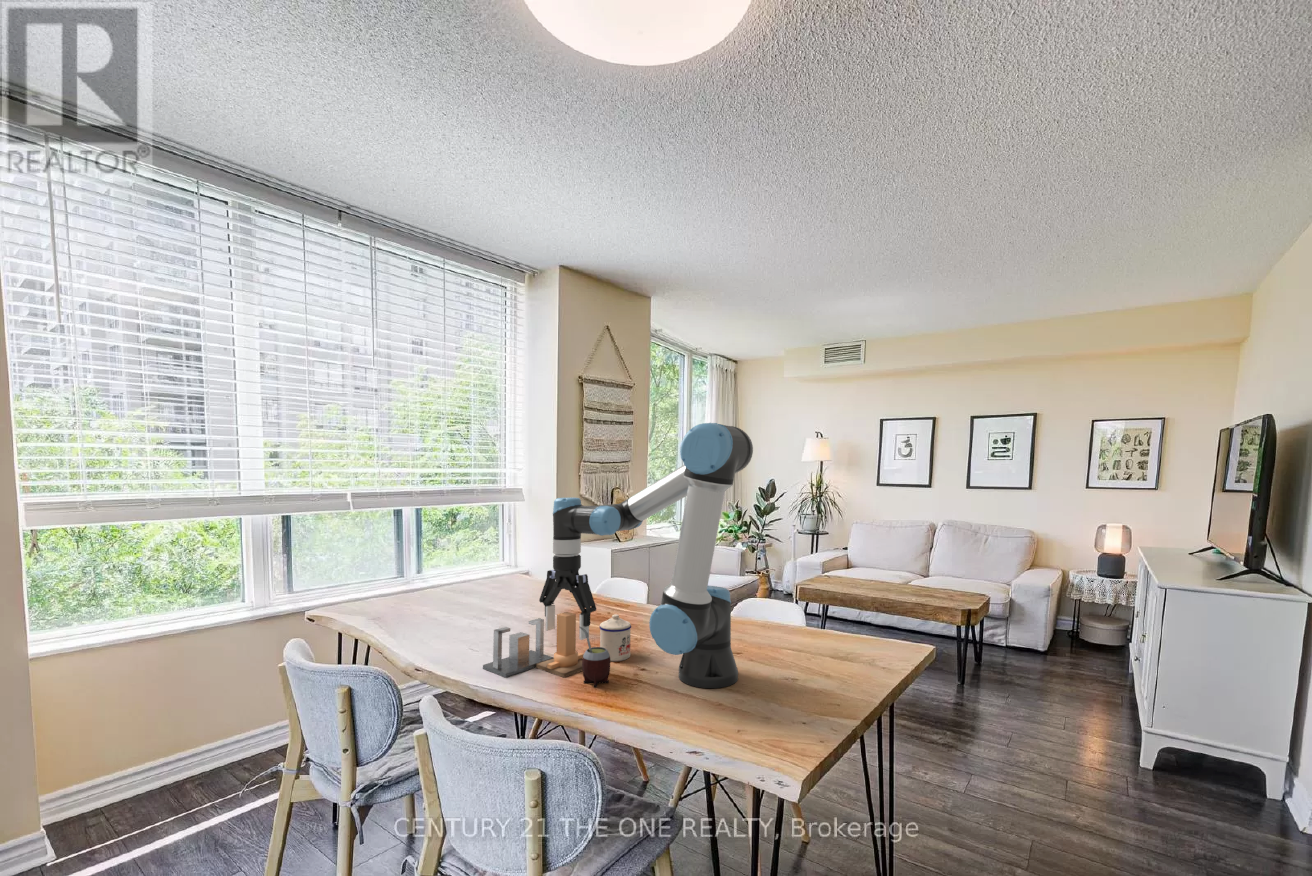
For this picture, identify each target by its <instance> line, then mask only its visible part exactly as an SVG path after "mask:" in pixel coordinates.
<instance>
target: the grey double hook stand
mask: <svg viewBox="0 0 1312 876" xmlns="http://www.w3.org/2000/svg"><path fill="white" fill-rule="evenodd" d="M528 625H531V626H535V650H532V649H531V650H530V637H531V635H530V634H529V633H525V632H523V631H521V632H520V631H519V632H516V633H513V634H509V642H508V644H509V647H508V649H509V650H508V657H505V658H504V657H503V658H502V656H503V655H502V654H503V653H502V652H503V650H502V649H503V634H506V633H510V632H511V628H510V627H507V626H504V627H499V628H496V629H493V646H492V647H493V648H492V649H493V653H492V655H493V656H492V662H488V663H485V664H482V669H483V670H485V671H488V672H490V673H493V674H495V675H498V676H500V677H503V678H508V677H510V676H514V675H517V674H520V673H522V672H526V671H529V670H532V669H535V668H536V664H538V663H541V662H544V661H547V660H550V659H553V658H554V656H551V655H548V654H544V652H545V651H544V648H545V647H544V642H545V641H544V640H545V638H544V637H545V633H544V632H545V631H544V630H545V619H543V618H540V617H539V618H534V619H531V620H528Z"/></svg>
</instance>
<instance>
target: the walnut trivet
mask: <svg viewBox="0 0 1312 876" xmlns="http://www.w3.org/2000/svg"><path fill="white" fill-rule="evenodd" d="M582 659H583V658H582ZM582 659H579V660H578V664H577V665H575V666H571V667H556V668H554V669H549V668H547V664H549V663H552V662H554V658H553V659H550V660H547V661H544V662H541V663H538V664H536V667H535V668H536V669H537V670H538V669H539V670H541V671H543V672H544V671H545V672H547V673H550V674H553V675H555V676H558V677H561V678H566V677H569V676H572V675H574V674H577V673H580V672H583V670H582Z"/></svg>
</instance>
